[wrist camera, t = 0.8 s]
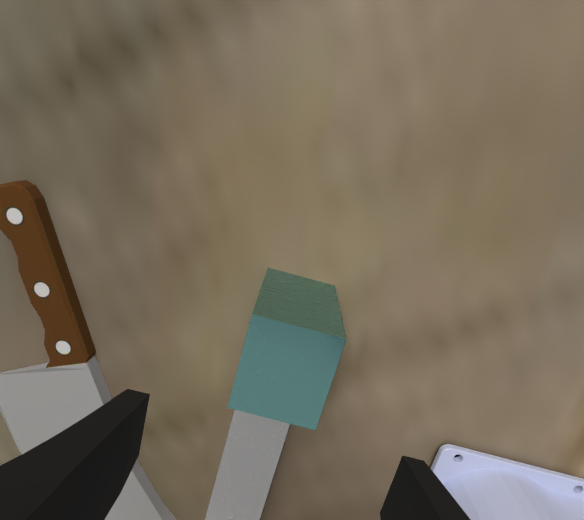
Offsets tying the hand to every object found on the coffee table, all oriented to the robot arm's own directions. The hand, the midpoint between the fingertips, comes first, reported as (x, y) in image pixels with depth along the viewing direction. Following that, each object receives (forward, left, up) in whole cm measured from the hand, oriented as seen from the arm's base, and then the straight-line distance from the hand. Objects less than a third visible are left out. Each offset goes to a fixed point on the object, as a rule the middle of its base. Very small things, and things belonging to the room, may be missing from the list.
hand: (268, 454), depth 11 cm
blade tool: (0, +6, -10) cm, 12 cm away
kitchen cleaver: (+11, +9, -10) cm, 18 cm away
